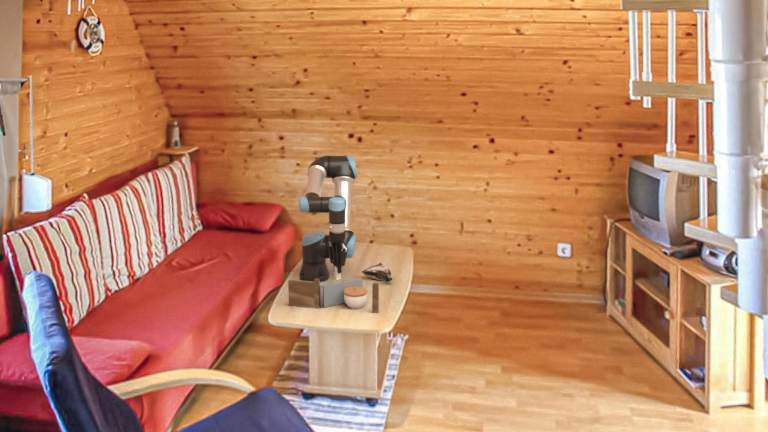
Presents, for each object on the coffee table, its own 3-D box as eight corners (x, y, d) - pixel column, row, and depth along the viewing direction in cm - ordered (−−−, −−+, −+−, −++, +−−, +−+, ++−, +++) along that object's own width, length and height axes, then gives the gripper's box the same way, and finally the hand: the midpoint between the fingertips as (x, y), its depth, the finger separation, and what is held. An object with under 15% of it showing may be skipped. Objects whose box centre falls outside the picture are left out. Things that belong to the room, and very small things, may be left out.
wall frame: (290, 304, 323) (289, 276, 319) (378, 311, 316) (378, 282, 312) (288, 306, 321) (288, 278, 317) (377, 313, 314) (378, 284, 310)
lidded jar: (346, 312, 315) (346, 292, 312) (341, 303, 325) (340, 284, 322) (369, 309, 318) (369, 289, 315) (363, 300, 328) (363, 281, 325)
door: (319, 306, 319) (318, 286, 317) (361, 298, 330) (361, 277, 328) (320, 308, 318) (320, 287, 315) (362, 299, 329) (362, 278, 326)
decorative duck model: (397, 273, 346) (367, 274, 342) (396, 287, 349) (366, 288, 345) (389, 260, 360) (360, 262, 356) (388, 274, 362) (359, 275, 358)
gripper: (321, 229, 327) (322, 277, 334) (340, 236, 318) (341, 284, 325) (334, 226, 332) (334, 273, 339) (352, 232, 323) (353, 280, 330)
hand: (337, 278), depth 332 cm, fingers closed
